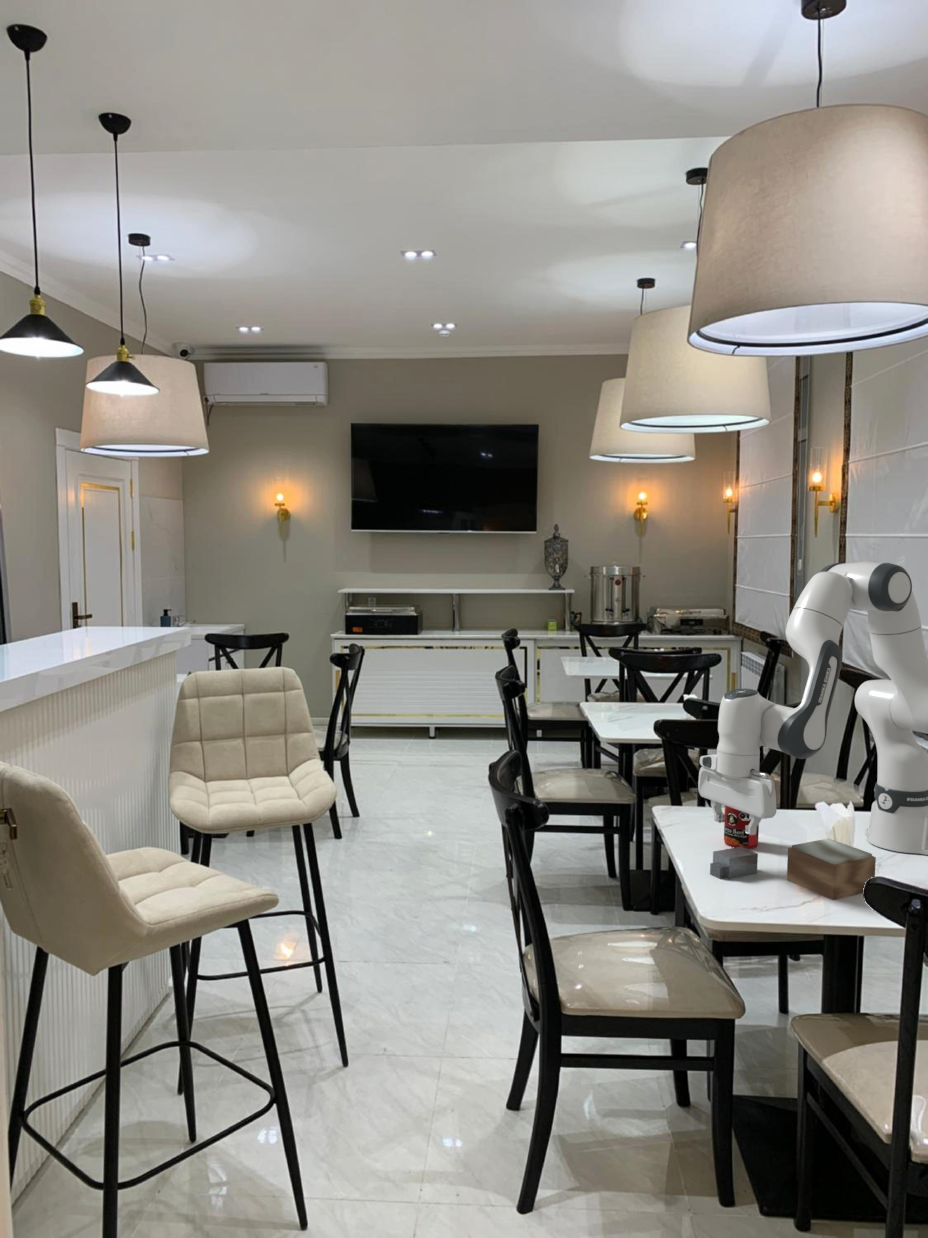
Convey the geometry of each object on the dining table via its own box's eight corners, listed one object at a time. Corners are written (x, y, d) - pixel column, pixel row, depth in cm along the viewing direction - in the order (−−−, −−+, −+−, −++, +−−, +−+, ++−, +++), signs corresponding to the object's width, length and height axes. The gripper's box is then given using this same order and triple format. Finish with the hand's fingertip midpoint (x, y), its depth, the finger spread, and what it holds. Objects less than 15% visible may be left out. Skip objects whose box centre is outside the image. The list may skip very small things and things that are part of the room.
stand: (827, 871, 193) (828, 837, 193) (874, 890, 183) (875, 854, 182) (786, 880, 188) (788, 845, 188) (832, 900, 177) (834, 862, 177)
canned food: (717, 843, 212) (718, 798, 211) (737, 837, 217) (739, 793, 216) (744, 852, 206) (745, 805, 205) (764, 845, 211) (766, 800, 210)
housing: (740, 866, 196) (741, 846, 196) (757, 874, 192) (757, 853, 191) (706, 873, 192) (707, 852, 192) (723, 880, 187) (723, 859, 187)
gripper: (785, 774, 182) (782, 840, 183) (716, 754, 201) (713, 814, 202) (762, 777, 180) (759, 843, 181) (694, 756, 198) (692, 816, 199)
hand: (734, 827), depth 191 cm, fingers open, 8 cm apart
